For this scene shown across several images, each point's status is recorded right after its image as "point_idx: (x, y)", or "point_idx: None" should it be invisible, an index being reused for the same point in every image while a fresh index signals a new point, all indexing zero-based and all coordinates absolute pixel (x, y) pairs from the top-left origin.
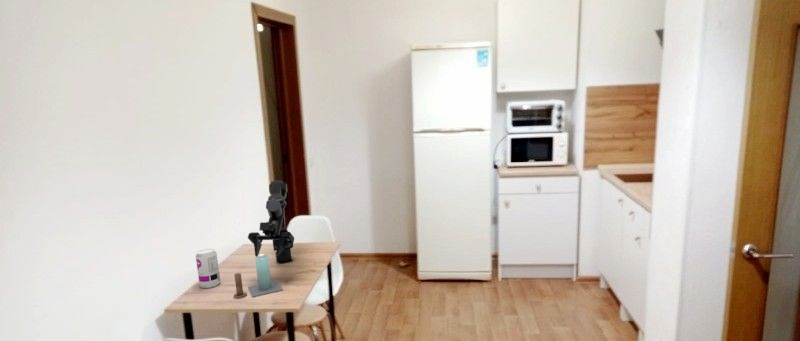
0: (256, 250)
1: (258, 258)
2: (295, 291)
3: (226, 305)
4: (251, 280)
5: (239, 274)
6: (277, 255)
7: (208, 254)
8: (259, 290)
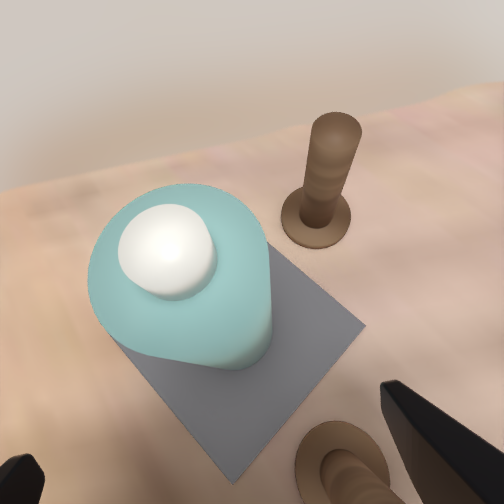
0: (446, 451)
1: (198, 214)
2: (30, 334)
3: (300, 128)
4: None
5: (316, 131)
6: (13, 475)
7: None
8: None
